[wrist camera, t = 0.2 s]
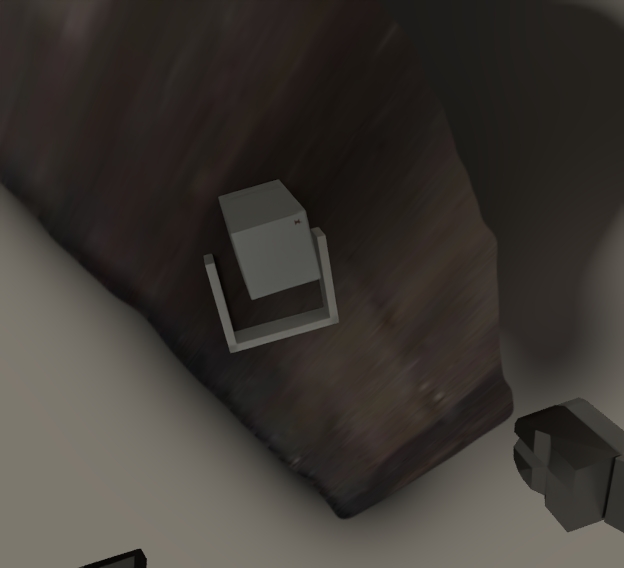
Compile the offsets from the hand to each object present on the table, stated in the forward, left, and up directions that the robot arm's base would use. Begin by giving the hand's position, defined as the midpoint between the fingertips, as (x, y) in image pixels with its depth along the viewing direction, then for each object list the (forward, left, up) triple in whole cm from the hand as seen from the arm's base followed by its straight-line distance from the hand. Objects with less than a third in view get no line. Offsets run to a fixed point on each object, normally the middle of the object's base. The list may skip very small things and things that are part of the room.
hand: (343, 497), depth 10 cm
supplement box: (+9, +4, -47) cm, 48 cm away
